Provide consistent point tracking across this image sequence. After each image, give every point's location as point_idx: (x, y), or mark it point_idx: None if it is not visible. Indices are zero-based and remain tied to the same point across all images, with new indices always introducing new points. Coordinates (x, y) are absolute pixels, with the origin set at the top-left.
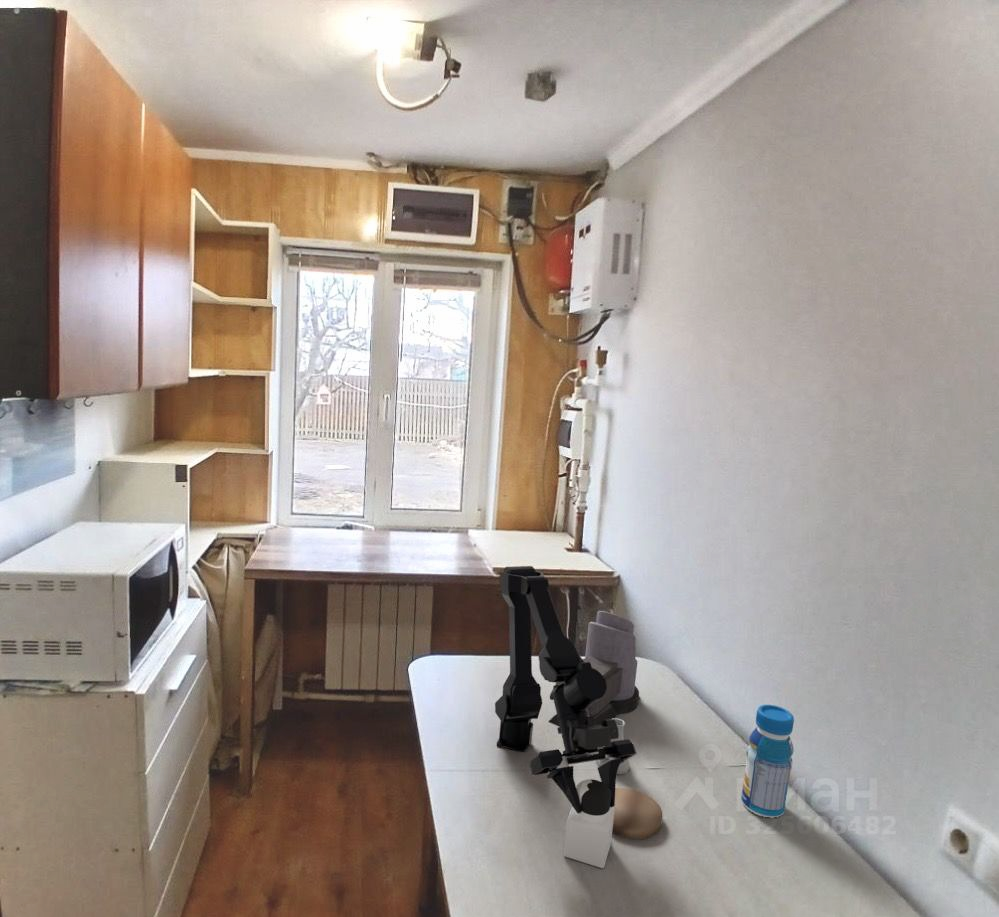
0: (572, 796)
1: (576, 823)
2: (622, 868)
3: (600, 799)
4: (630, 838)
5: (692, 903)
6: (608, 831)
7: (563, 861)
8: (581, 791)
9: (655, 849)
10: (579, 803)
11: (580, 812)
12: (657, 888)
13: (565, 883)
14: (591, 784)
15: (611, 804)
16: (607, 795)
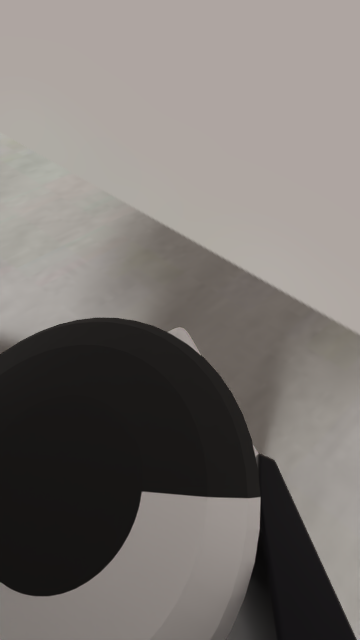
0: (329, 595)
1: None
2: None
3: (157, 335)
4: None
5: (118, 210)
6: (171, 330)
7: None
8: (229, 549)
9: (18, 335)
10: (265, 493)
11: (265, 456)
12: (135, 263)
13: (324, 405)
14: (36, 546)
15: None
16: (68, 330)
